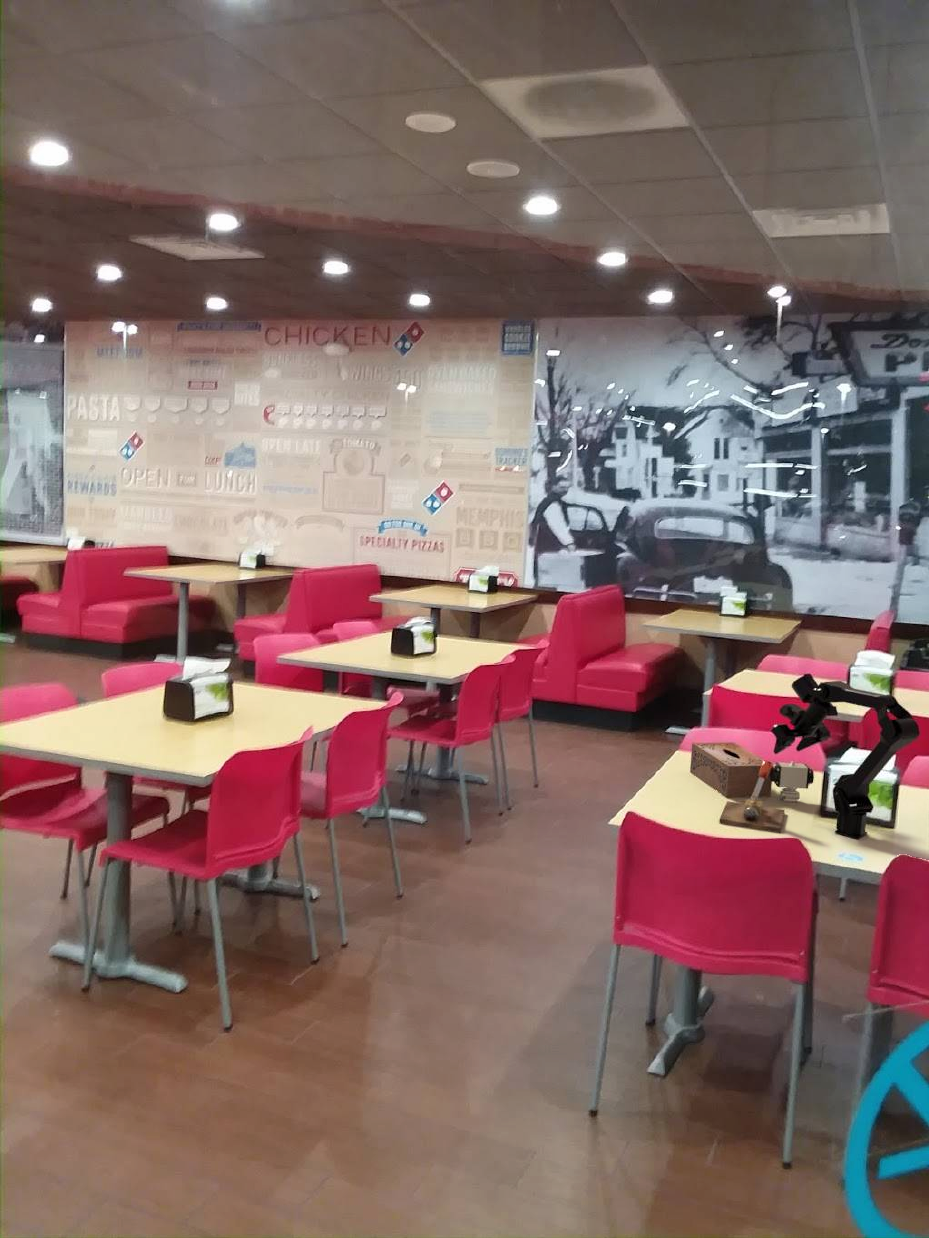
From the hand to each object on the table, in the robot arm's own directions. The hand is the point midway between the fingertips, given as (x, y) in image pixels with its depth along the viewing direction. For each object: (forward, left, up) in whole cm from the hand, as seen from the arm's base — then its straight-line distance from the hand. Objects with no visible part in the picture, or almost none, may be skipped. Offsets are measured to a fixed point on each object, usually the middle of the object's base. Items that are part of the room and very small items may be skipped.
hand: (786, 751), depth 299 cm
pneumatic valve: (0, -6, -16) cm, 17 cm away
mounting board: (-1, +18, -16) cm, 24 cm away
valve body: (-1, +18, -16) cm, 24 cm away
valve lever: (-1, +18, -10) cm, 21 cm away
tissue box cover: (+20, -6, -16) cm, 27 cm away
